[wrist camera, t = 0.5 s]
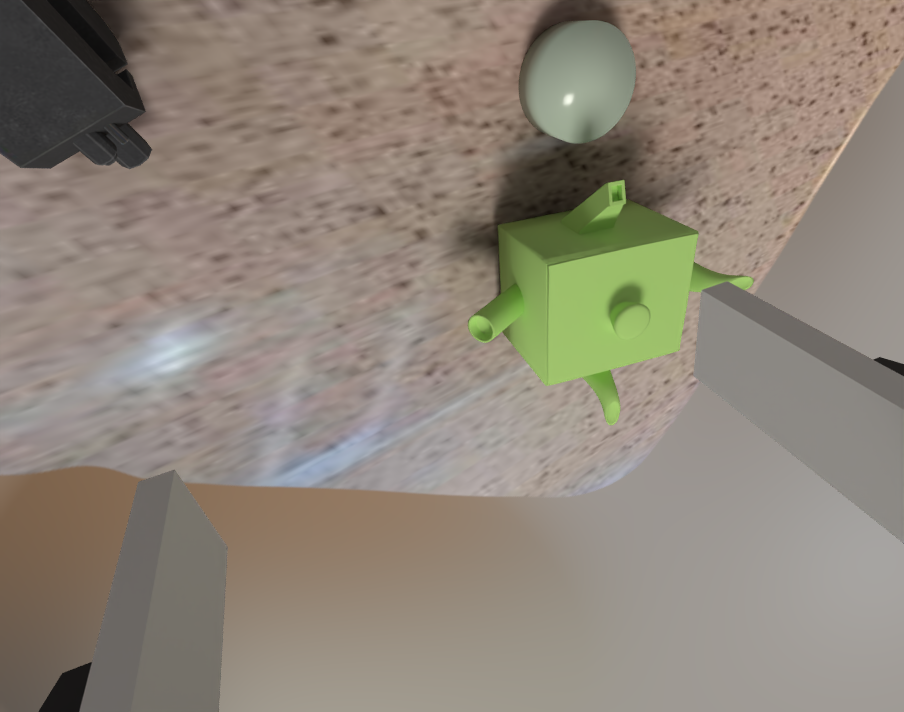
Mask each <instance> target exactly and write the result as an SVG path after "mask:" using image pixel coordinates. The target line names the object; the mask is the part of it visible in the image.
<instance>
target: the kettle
mask: <svg viewBox="0 0 904 712" xmlns="http://www.w3.org/2000/svg"><path fill="white" fill-rule="evenodd" d="M698 234H699V233H698V231H696V230H694V229H692V228H690V227H688V226H685V225H683V224H681V223H679V222H677V221H674V220H672V219H670V218H668V217H666V216H664V215H661V214H659V213H657V212H655V211H653V210H650V209H648V208H646V207H644V206H642V205H639V204H637V203H635V202H633V201H631V200H628V199H626V194H625V181H624V180H620V181H614V182H609V183H605V184H604V185H603V186H602V187H601V188H599V189H598V190H597V191H596V192H594V193H593V194H592V195H591V196H590V197H588V198H587V199H586V200H585V201H584V202H582V203H581V204H580V205H579V206H577V207H576V208H575V209H574V210H570V211H565V212H559V213H554V214H549V215H544V216H539V217H534V218H529V219H524V220H519V221H514V222H509V223H504V224H499V225H498V243H499V264H500V286H501V294H500V295H499V296H497V297H496V298H495V299H494V300H492V301H491V302H490V303H488V304H487V305H486V306H485V307H483V308H482V309H481V310H479V311H478V312H477V313H475V314H474V315H473V316H472V317H471V318H470V319H469V321H468V328H469V331H470V333H471V334H472V336H473V337H474V338H475V339H476V340H478V341H480V342H484V343H487V342H490V341H491V340H492V339H493V338H495V337H496V336H497V335H498V334H499V333H501V332H502V331H503V334H504V335H505V336H506V337H507V338H508V340H509V341H510V342H511V343H512V345H513V346H514V347H515V348H516V350H517V351H518V352H519V353H520V355H521V356H522V357H523V358H524V359H525V361H526V362H527V363H528V364H529V366H530V367H531V368H532V369H533V371H534V372H535V373H536V374H537V376H538V377H539V378H540V379H541V380H542V382H543V383H544V384H545V385H546V386H549V385H553V384H558V383H562V382H565V381H569V380H573V379H577V378H581V377H583V379H584V380H585V381H586V382H587V383H588V384H589V385H590V386H591V388H592V389H593V390H594V391H595V393H596V395H597V396H598V398H599V400H600V402H601V405H602V408H603V411H604V416H605V419H606V422H607V423H608V424H609V425H614V424H615V423H616V422H617V420H618V418H619V414H620V401H619V397H618V393H617V389H616V386H615V383H614V380H613V377H612V374H611V371H610V370H611V369H615V368H619V367H622V366H626V365H630V364H633V363H637V362H641V361H644V360H648V359H652V358H655V357H659V356H663V355H666V354H670V353H673V352H676V351H679V350H680V342H681V336H682V330H683V325H684V319H685V313H686V308H687V301H688V295H689V291H693V292H701V290H703V289H706V288H709V287H712V286H715V285H718V284H721V283H724V282H726V281H728V282H730V283H732V284H734V285H735V286H737V287H739V288H741V289H743V290H746V289H748V288H749V287H751V286H752V284H753V282H754V280H753V278H751V277H748V276H734V275H725V274H720V273H717V272H714V271H711V270H709V269H707V268H704V267H702V266H700V265H699V264H697V263H695V262H694V257H695V250H696V244H697V239H698Z"/></svg>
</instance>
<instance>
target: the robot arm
mask: <svg viewBox="0 0 904 712" xmlns="http://www.w3.org/2000/svg"><path fill="white" fill-rule="evenodd" d="M694 377H696V378H697V379H698V380H699V381H701V382H702V383H703V384H705V385H706V386H707V387H708V388H710V389H711V390H712V391H713V392H715V393H716V394H717V395H718V396H719V397H721V398H722V399H723V400H725V401H726V402H727V403H728V404H729V405H731V406H732V407H734V408H735V409H736V410H737V411H738V412H740V413H741V414H742V415H743V416H745V417H746V418H747V419H748V420H750V421H751V422H752V423H753V424H755V425H756V426H757V427H758V428H760V429H761V430H762V431H763V432H765V433H766V434H767V435H768V436H770V437H771V438H772V439H773V440H775V441H776V442H777V443H778V444H780V445H781V446H782V447H783V448H785V449H786V450H787V451H788V452H790V453H791V454H792V455H794V456H795V457H796V458H797V459H798V460H800V461H801V462H802V463H803V464H805V465H806V466H807V467H808V468H810V469H811V470H812V471H814V472H815V473H816V474H817V475H818V476H820V477H821V478H822V479H823V480H825V481H826V482H827V483H829V484H830V485H831V486H832V487H833V488H835V489H836V490H837V491H838V492H840V493H841V494H842V495H844V496H845V497H846V498H847V499H849V500H850V501H851V502H852V503H854V504H855V505H856V506H857V507H859V508H860V509H861V510H862V511H864V512H865V513H866V514H867V515H869V516H870V517H871V518H872V519H874V520H875V521H876V522H877V523H879V524H880V525H881V526H882V527H884V528H885V529H886V530H888V531H889V532H890V533H891V534H892V535H894V536H895V537H896V538H897V539H899V540H900V541H901V542H902V543H904V364H901V363H898V362H894V361H891V360H888V359H884V358H881V357H879V358H877V359H874V360H872V359H871V358H869V357H867V356H865V355H863V354H861V353H859V352H858V351H856V350H854V349H852V348H850V347H848V346H847V345H845V344H843V343H841V342H839V341H837V340H835V339H833V338H832V337H830V336H828V335H826V334H824V333H822V332H821V331H819V330H817V329H815V328H813V327H811V326H809V325H808V324H806V323H804V322H802V321H800V320H798V319H797V318H795V317H793V316H791V315H789V314H787V313H785V312H784V311H782V310H780V309H778V308H776V307H774V306H772V305H771V304H769V303H767V302H765V301H763V300H761V299H759V298H758V297H756V296H754V295H752V294H750V293H748V292H747V291H745V290H743V289H741V288H739V287H737V286H735V285H734V284H732V283H730V282H728V281H726V282H724V283H721V284H718V285H715V286H712V287H709V288H706V289H703V290H701V300H700V311H699V322H698V332H697V343H696V354H695V365H694ZM227 550H228V547H227V546H226V544H225V543H224V541H223V540H222V538H221V537H220V535H219V534H218V532H217V531H216V529H215V528H214V527H213V525H212V524H211V522H210V521H209V519H208V518H207V516H206V515H205V513H204V512H203V510H202V509H201V508H200V506H199V505H198V503H197V502H196V500H195V499H194V497H193V496H192V494H191V493H190V491H189V490H188V488H187V487H186V486H185V484H184V483H183V481H182V480H181V478H180V477H179V475H178V474H177V472H176V471H175V470H172V471H169V472H166V473H163V474H160V475H157V476H154V477H152V478H149V479H146V480H143V481H140V482H138V485H137V490H136V493H135V497H134V501H133V505H132V509H131V513H130V516H129V520H128V524H127V528H126V532H125V536H124V540H123V544H122V548H121V551H120V556H119V559H118V563H117V567H116V571H115V575H114V579H113V583H112V587H111V590H110V594H109V598H108V602H107V606H106V610H105V614H104V618H103V622H102V626H101V629H100V633H99V637H98V641H97V645H96V649H95V653H94V657H93V660H92V662H91V663H88V664H85V665H83V666H80V667H77V668H75V669H72V670H70V671H67V672H65V673H62V675H61V676H60V678H59V680H58V681H57V683H56V685H55V686H54V687H53V689H52V691H51V692H50V694H49V696H48V697H47V699H46V700H45V702H44V703H43V705H42V707H41V708H40V710H39V712H219V698H220V680H221V662H222V661H221V660H222V642H223V624H224V605H225V587H226V568H227Z"/></svg>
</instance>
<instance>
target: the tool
mask: <svg viewBox="0 0 904 712" xmlns="http://www.w3.org/2000/svg"><path fill="white" fill-rule="evenodd" d="M127 64H128V63H127V61H126V59H125V56H124V54H123V52H122V49H121V47H120V45H119V42H118V41H117V40H116V38H115V37H114V35H113V34H112V32H111V31H110V29H109V28H108V26H107V25H106V24H105V22H104V21H103V20H102V19H101V18H100V16H99V15H98V14H97V13H96V12H95V11H94V9H93V8H92V7H91V6H90V5H89V4H88V2H87V1H86V0H0V154H2V155H3V156H4V157H6V158H7V159H9V160H10V161H12V162H13V163H14V164H16V165H17V166H19V167H20V168H49V169H51V168H52V167H54V166H56V165H57V164H59V163H61V162H62V161H64V160H66V159H67V158H69V157H71V156H72V155H74V154H76V153H77V152H79V151H80V152H81V153H83V154H84V155H85V156H86V157H87V158H89V159H90V160H91V161H92V162H93V163H95V164H97V165H108V166H109V165H111V164H113V163H114V162H115V161H117V162H118V163H119V164H120V165H121V166H123V167H126V168H129V169H131V168H134V167H137V166H139V165H141V164H142V163H144V162H145V161H146V160H147V159H148V158H149V156H150V153H151V151H152V149H151V147H150V146H149V145H148V143H147V142H146V141H145V140H144V139H143V138H142V137H141V136H140V135H139V134H138V133H137V132H136V131H135V130H134V129H133V128H132V127H131V126H130V125H129V124H128V122H130V121H131V120H133V119H135V118H136V117H138V116H140V115H141V114H143V113H145V112H146V111H145V108H144V106H143V103H142V100H141V98H140V95H139V92H138V90H137V87H136V84H135V82H134V79H133V76H132V75H131V74H130V73H129V72H128V71H127V69H126V70H124V71H123V72H121V73H119V74H118V75H116V74H115V73H114V72H115V71H117V70H119V69H120V68H122V67H124V66H126V65H127Z"/></svg>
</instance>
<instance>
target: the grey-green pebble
mask: <svg viewBox="0 0 904 712" xmlns="http://www.w3.org/2000/svg"><path fill="white" fill-rule="evenodd" d="M635 78H636V66H635V58H634V54H633V51H632V48H631V46H630V43H629V41H628V40H627V38H626V37H625V35H624V34H623V33H622V32H621V31H620V30H619V29H618V28H616V27H615V26H613V25H611V24H610V23H607V22H604V21H598V20H586V21H565V22H561V23H558V24H555V25H553V26H552V27H550V28H548V29H547V30H545V31H544V32H543V33H542V34H541V35H540V36H539V37H538V38H537V39H536V40H535V41H534V42H533V44H532V45H531V47H530V48H529V50H528V52H527V54H526V56H525V58H524V61H523V63H522V66H521V71H520V76H519V98H520V103H521V106H522V109H523V111H524V114H525V116H526V117H527V119H528V120H529V122H530V123H531V124H532V125H533V126H534V127H535V128H536V129H537V130H539V131H541V132H542V133H544V134H547V135H550V136H552V137H555V138H558V139H560V140H563V141H566V142H570V143H586V142H590V141H593V140H595V139H598V138H599V137H601V136H603V135H604V134H606V133H607V132H608V131H610V130H611V129H612V128H613V127H614V126H615V125H616V123H617V122H618V121H619V120H620V118H621V117H622V116H623V114H624V112H625V111H626V109H627V107H628V105H629V102H630V100H631V97H632V94H633V90H634V86H635Z"/></svg>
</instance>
